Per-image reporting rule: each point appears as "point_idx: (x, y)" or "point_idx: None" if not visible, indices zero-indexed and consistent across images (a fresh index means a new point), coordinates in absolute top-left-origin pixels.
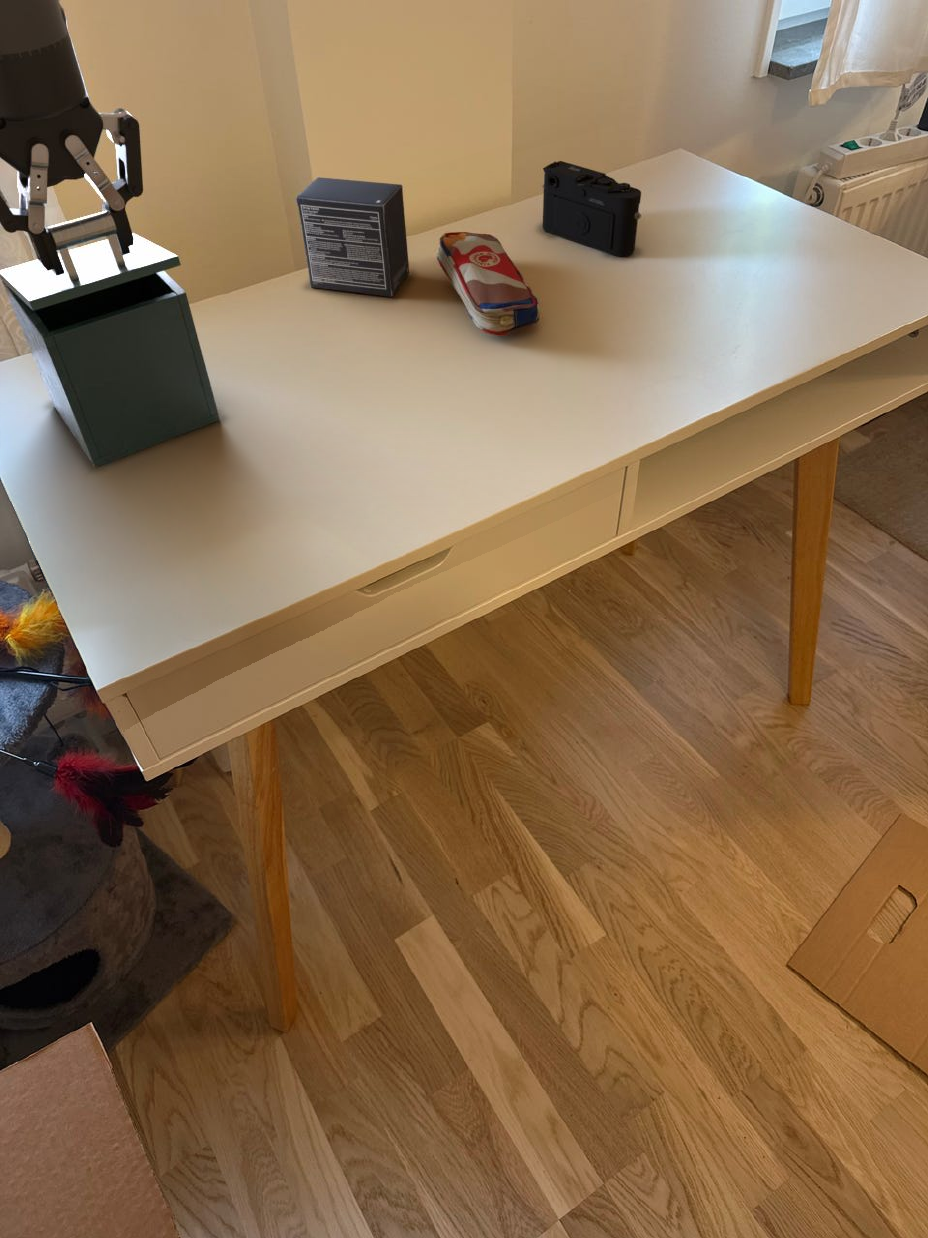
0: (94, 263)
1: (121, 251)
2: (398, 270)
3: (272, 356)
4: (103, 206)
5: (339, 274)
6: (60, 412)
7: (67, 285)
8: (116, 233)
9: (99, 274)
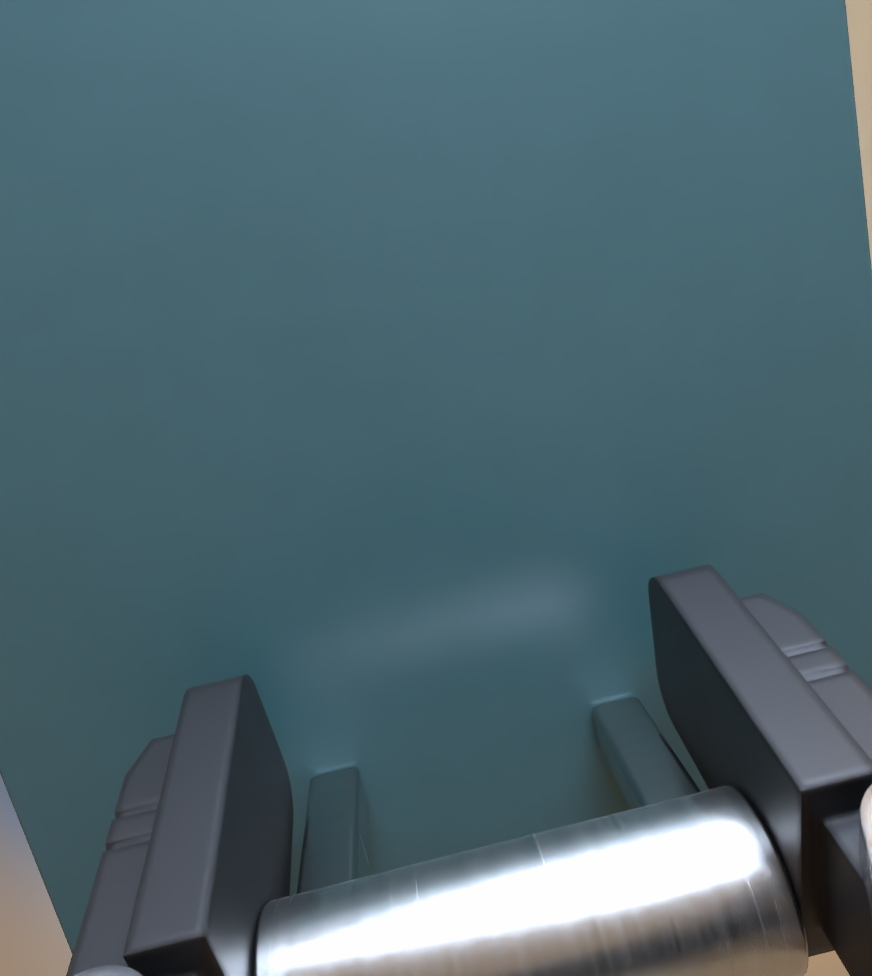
0: (466, 508)
1: (670, 710)
2: None
3: (864, 90)
4: (804, 835)
5: None
6: None
7: (296, 866)
8: None
9: (482, 794)
